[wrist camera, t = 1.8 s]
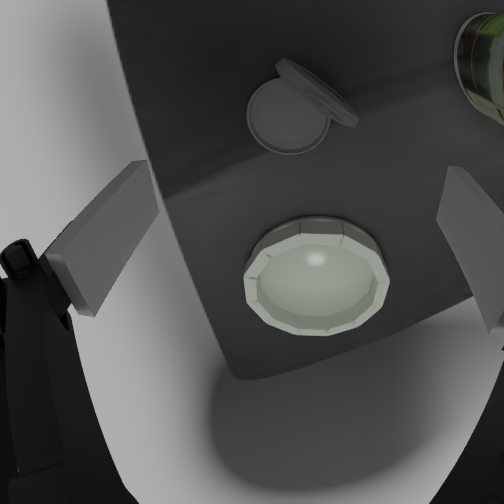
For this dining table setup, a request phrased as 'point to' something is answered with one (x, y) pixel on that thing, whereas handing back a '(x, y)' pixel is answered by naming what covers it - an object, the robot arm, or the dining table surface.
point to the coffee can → (482, 63)
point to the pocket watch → (295, 110)
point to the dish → (316, 276)
